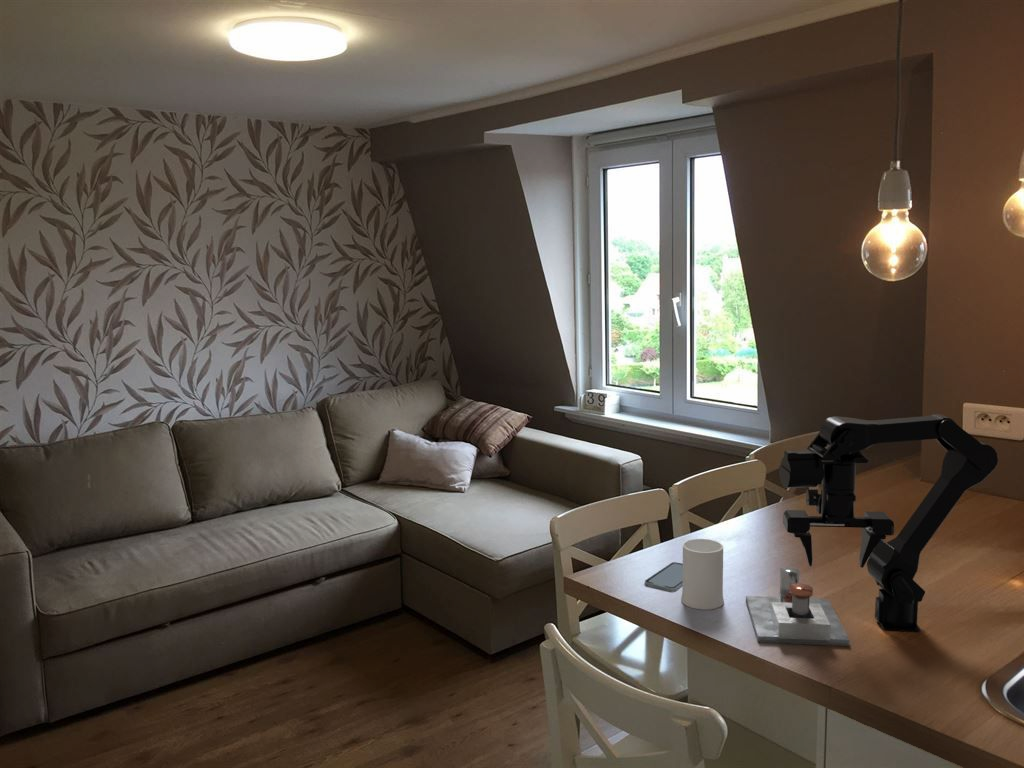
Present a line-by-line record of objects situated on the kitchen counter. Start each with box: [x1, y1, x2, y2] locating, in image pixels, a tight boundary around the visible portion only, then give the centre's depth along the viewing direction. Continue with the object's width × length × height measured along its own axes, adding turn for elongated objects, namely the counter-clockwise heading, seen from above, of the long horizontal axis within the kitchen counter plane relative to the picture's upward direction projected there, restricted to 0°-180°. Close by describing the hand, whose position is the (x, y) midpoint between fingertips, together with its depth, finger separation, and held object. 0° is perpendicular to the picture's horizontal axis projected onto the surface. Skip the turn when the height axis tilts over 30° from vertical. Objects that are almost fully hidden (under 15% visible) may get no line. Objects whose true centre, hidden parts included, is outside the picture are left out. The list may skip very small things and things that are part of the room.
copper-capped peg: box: [790, 582, 814, 618], centre depth 157 cm, size 4×4×8 cm
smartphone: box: [644, 561, 683, 592], centre depth 186 cm, size 7×1×15 cm
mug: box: [680, 538, 725, 611], centre depth 174 cm, size 12×8×12 cm
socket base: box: [745, 566, 850, 647], centre depth 162 cm, size 16×18×8 cm
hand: (835, 566), depth 159 cm, fingers open, 9 cm apart
